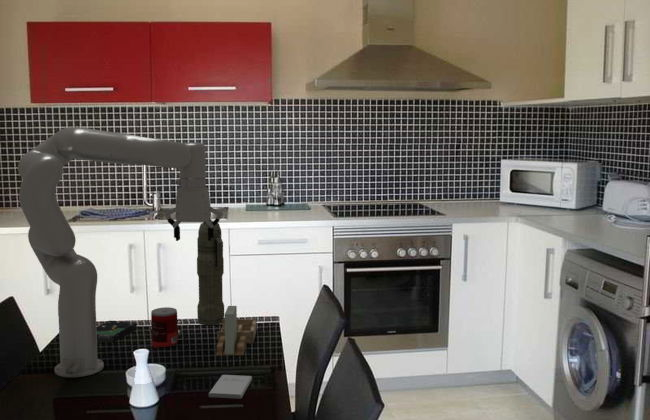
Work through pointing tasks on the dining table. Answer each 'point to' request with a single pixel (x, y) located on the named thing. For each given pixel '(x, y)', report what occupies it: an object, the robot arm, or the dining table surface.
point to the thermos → (210, 276)
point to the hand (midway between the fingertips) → (193, 240)
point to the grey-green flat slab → (230, 329)
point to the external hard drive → (230, 386)
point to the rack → (242, 330)
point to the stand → (238, 351)
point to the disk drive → (114, 330)
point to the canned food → (164, 327)
